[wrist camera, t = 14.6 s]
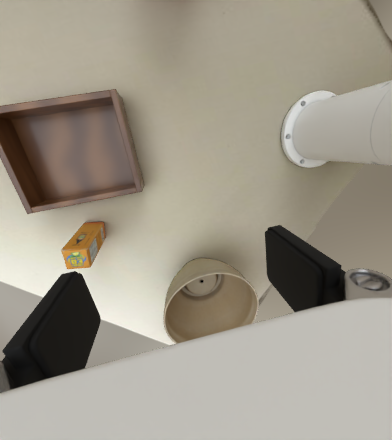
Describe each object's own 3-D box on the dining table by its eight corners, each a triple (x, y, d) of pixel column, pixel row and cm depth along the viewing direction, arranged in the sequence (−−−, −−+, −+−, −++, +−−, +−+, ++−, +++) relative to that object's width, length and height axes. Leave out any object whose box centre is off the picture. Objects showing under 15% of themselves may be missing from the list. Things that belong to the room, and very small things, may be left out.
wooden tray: (121, 97, 31) (115, 89, 27) (144, 185, 36) (142, 191, 32) (4, 115, 30) (-24, 109, 25) (44, 205, 34) (27, 214, 30)
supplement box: (87, 239, 38) (64, 270, 28) (84, 221, 36) (59, 247, 27) (107, 239, 38) (90, 268, 29) (104, 221, 37) (86, 246, 28)
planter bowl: (194, 319, 48) (204, 366, 38) (145, 276, 42) (141, 317, 32) (250, 277, 47) (275, 313, 36) (207, 227, 41) (224, 253, 31)
